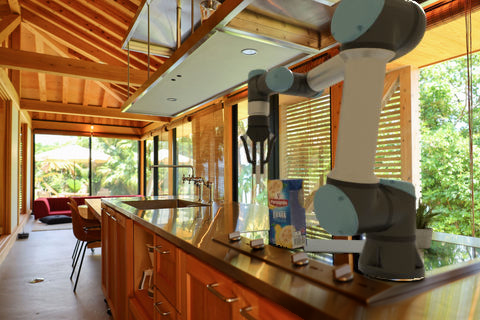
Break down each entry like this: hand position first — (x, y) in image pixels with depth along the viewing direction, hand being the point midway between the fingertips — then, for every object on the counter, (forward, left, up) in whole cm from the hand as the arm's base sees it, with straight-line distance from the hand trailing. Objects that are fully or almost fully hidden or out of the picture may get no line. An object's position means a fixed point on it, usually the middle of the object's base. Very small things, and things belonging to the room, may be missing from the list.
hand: (258, 183), depth 116 cm
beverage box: (0, -10, -21) cm, 23 cm away
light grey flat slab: (0, -26, -21) cm, 33 cm away
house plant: (+3, -53, -21) cm, 57 cm away
